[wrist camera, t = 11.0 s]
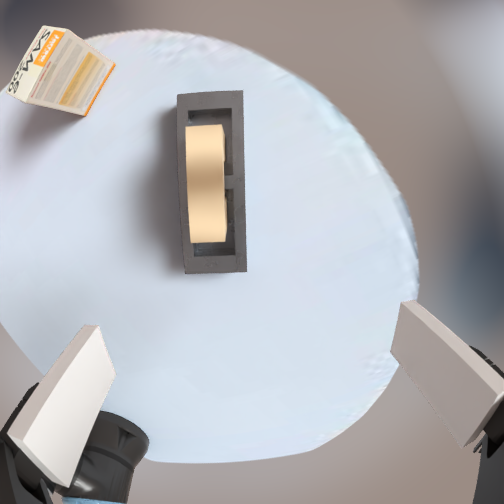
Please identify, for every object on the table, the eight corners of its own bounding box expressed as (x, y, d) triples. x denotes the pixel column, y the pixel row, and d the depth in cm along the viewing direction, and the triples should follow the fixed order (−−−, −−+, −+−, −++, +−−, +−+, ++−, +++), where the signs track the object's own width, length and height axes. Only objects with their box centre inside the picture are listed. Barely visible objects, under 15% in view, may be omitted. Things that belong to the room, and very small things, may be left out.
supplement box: (93, 56, 25) (43, 22, 13) (117, 64, 26) (68, 27, 14) (63, 107, 27) (3, 93, 15) (85, 118, 28) (24, 103, 16)
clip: (227, 222, 32) (225, 241, 24) (202, 223, 32) (190, 242, 24) (225, 136, 29) (221, 124, 21) (199, 138, 29) (185, 126, 21)
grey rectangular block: (245, 260, 35) (246, 271, 31) (190, 262, 35) (185, 273, 31) (242, 99, 29) (243, 90, 25) (183, 102, 29) (177, 94, 25)
